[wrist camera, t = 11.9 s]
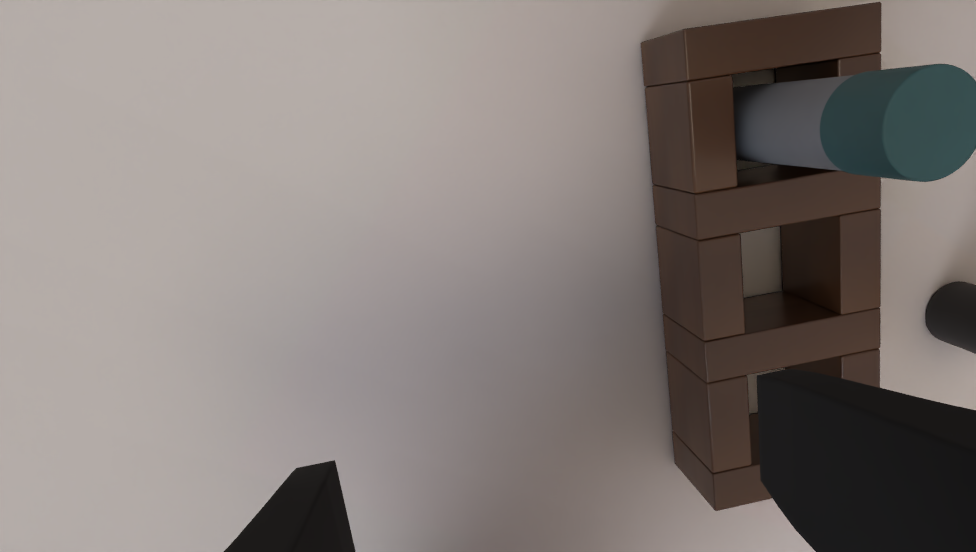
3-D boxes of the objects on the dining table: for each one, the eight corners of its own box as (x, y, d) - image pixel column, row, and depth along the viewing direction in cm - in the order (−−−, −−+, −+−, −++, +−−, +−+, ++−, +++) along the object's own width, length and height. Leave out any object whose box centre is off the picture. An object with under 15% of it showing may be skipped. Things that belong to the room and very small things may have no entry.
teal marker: (767, 154, 21) (984, 172, 14) (700, 165, 21) (882, 190, 13) (764, 80, 21) (989, 55, 13) (695, 91, 21) (883, 71, 13)
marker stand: (821, 432, 24) (880, 474, 21) (674, 463, 23) (715, 511, 21) (812, 18, 21) (882, 1, 18) (639, 42, 20) (683, 28, 17)
